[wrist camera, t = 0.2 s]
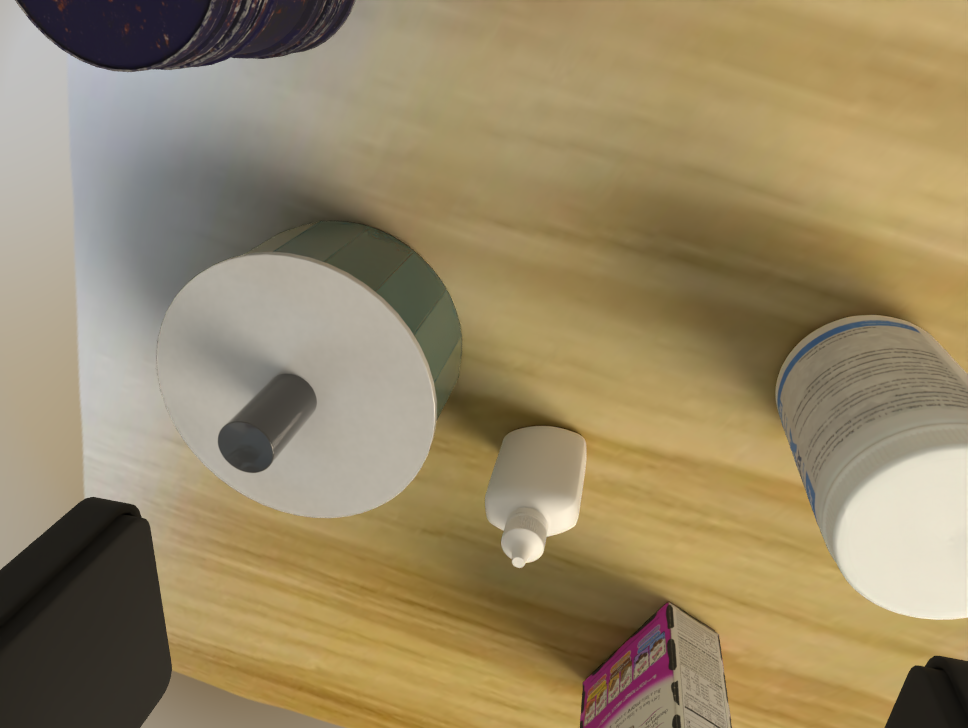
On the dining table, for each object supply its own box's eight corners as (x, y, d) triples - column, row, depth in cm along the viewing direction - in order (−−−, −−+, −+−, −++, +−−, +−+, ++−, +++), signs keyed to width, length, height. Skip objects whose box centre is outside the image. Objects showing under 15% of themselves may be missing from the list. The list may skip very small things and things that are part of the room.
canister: (232, 205, 47) (153, 242, 40) (470, 237, 45) (435, 282, 38) (247, 416, 54) (183, 482, 47) (455, 453, 52) (422, 527, 45)
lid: (150, 229, 40) (66, 266, 34) (448, 270, 38) (411, 318, 32) (182, 481, 48) (117, 547, 42) (433, 529, 45) (401, 606, 39)
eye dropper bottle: (567, 487, 52) (546, 611, 41) (495, 451, 51) (455, 565, 41) (597, 441, 49) (584, 558, 39) (522, 403, 49) (488, 510, 39)
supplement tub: (741, 403, 46) (778, 556, 33) (843, 278, 42) (932, 399, 29) (873, 477, 47) (960, 658, 34) (987, 362, 42) (1140, 518, 29)
